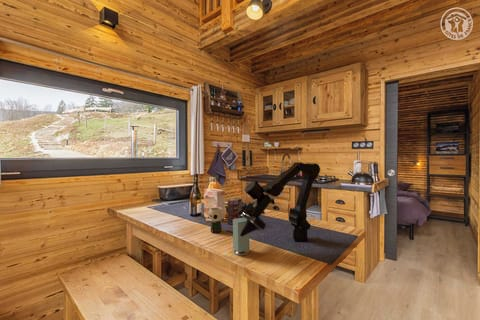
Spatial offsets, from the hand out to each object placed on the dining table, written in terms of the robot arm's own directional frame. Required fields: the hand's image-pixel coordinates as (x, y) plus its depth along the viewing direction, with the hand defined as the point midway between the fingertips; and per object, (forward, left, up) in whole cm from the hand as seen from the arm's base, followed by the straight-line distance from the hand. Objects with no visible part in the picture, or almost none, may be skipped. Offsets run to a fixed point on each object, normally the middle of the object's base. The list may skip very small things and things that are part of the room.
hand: (238, 233), depth 98 cm
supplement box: (+7, -38, -9) cm, 39 cm away
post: (-1, -1, -8) cm, 9 cm away
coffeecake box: (+23, -52, -9) cm, 57 cm away
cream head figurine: (+16, -26, -9) cm, 31 cm away
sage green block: (-1, -1, -7) cm, 7 cm away
